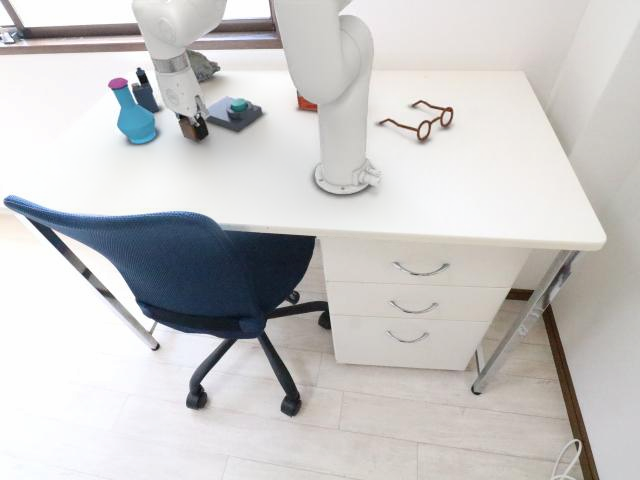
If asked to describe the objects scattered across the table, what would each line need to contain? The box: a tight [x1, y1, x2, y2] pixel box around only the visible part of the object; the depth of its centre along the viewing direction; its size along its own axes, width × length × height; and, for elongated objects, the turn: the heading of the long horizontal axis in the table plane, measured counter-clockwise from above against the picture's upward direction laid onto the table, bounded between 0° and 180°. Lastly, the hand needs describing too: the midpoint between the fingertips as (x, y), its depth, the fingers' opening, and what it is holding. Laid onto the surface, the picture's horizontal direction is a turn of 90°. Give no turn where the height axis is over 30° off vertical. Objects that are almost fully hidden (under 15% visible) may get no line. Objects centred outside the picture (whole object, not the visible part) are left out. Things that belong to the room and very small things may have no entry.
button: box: [231, 97, 247, 111], centre depth 98 cm, size 4×4×2 cm
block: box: [177, 114, 208, 143], centre depth 93 cm, size 4×4×4 cm
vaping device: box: [130, 66, 160, 114], centre depth 103 cm, size 3×5×12 cm, turn 112°
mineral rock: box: [185, 48, 222, 83], centre depth 115 cm, size 13×11×10 cm
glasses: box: [379, 99, 454, 142], centre depth 93 cm, size 13×13×5 cm
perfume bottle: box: [107, 77, 157, 144], centre depth 93 cm, size 9×9×15 cm
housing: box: [206, 95, 263, 133], centre depth 101 cm, size 13×10×4 cm
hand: (196, 133), depth 94 cm, fingers closed on block, 4 cm apart
